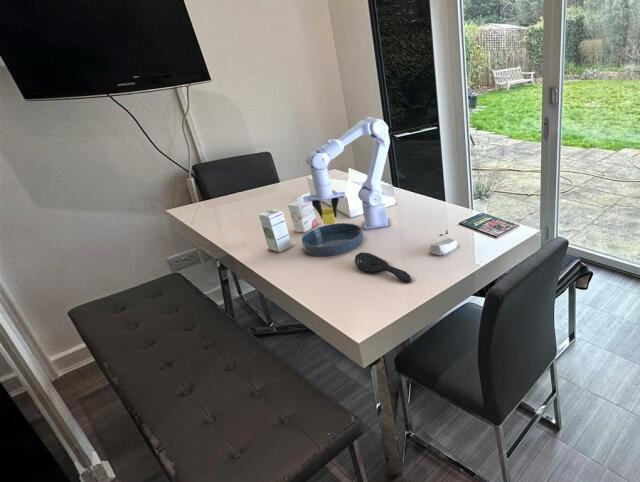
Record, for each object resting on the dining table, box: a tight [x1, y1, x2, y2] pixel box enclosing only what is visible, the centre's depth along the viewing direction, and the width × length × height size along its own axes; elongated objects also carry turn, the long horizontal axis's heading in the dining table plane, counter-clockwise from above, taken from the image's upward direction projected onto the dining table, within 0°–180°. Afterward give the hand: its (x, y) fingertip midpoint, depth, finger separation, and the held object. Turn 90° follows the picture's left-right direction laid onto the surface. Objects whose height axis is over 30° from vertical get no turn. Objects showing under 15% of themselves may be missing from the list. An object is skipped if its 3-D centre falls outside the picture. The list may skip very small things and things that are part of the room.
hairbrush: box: [354, 251, 412, 283], centre depth 135 cm, size 8×4×25 cm
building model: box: [306, 167, 396, 218], centre depth 199 cm, size 45×22×10 cm, turn 46°
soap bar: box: [429, 237, 458, 256], centre depth 148 cm, size 10×6×6 cm, turn 134°
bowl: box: [301, 222, 364, 257], centre depth 154 cm, size 21×21×4 cm
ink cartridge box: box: [287, 191, 318, 233], centre depth 166 cm, size 9×5×15 cm, turn 168°
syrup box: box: [258, 209, 292, 253], centre depth 149 cm, size 6×6×14 cm
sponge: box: [321, 207, 337, 226], centre depth 157 cm, size 4×7×4 cm, turn 19°
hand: (329, 217), depth 158 cm, fingers closed on sponge, 4 cm apart
